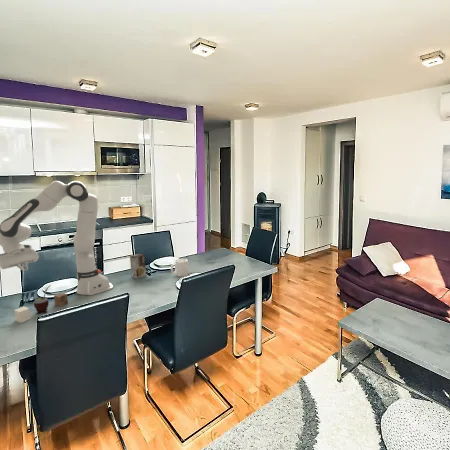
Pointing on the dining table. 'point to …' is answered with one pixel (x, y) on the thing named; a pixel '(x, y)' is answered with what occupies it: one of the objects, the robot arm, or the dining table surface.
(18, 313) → the off-white block
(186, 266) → the mug
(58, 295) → the walnut block
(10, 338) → the dining table surface
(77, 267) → the robot arm
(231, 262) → the dining table surface
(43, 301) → the mate gourd
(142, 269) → the coffee box
